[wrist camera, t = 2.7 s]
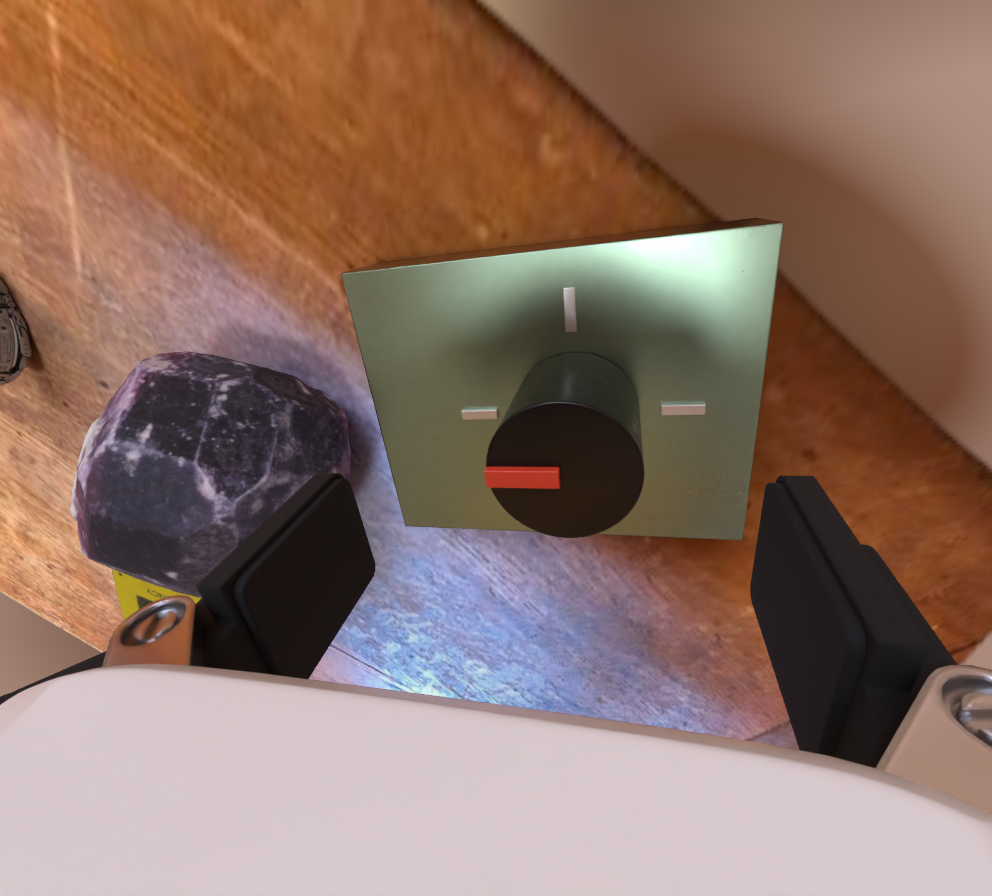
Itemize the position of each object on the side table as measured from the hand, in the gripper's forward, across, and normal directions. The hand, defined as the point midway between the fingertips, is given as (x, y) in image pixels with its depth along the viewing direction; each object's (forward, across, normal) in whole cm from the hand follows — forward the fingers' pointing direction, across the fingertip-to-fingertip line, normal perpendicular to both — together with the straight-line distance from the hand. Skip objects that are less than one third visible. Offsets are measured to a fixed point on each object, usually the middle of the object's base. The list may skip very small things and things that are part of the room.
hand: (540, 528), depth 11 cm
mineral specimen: (+11, +15, +2) cm, 18 cm away
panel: (+10, +1, 0) cm, 10 cm away
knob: (+7, 0, 0) cm, 7 cm away
